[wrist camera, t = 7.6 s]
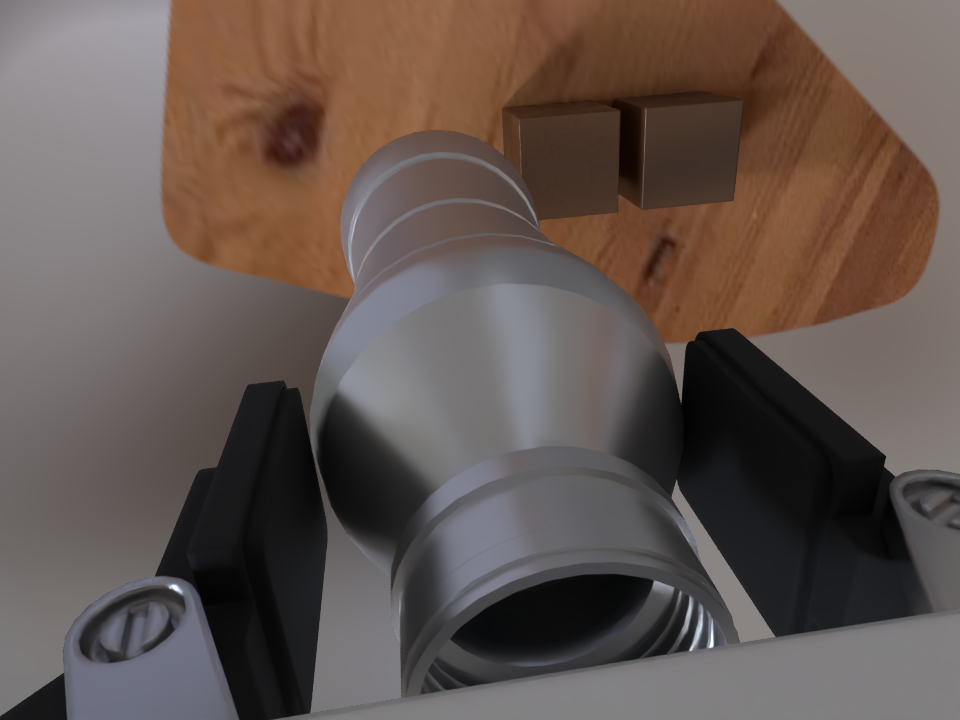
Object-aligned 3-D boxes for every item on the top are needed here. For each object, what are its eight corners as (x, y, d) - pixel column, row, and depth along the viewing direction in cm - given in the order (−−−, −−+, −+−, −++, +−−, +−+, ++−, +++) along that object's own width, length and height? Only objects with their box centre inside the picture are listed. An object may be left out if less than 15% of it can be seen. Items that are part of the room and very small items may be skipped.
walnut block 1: (501, 107, 35) (518, 118, 31) (592, 100, 36) (620, 110, 32) (506, 199, 38) (522, 222, 33) (591, 191, 38) (618, 212, 34)
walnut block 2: (614, 98, 36) (645, 107, 32) (701, 91, 36) (744, 99, 32) (612, 189, 38) (641, 210, 34) (694, 182, 39) (734, 201, 34)
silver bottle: (479, 86, 23) (814, 283, 5) (549, 260, 26) (914, 758, 8) (309, 169, 24) (85, 608, 6) (398, 330, 27) (433, 947, 9)
